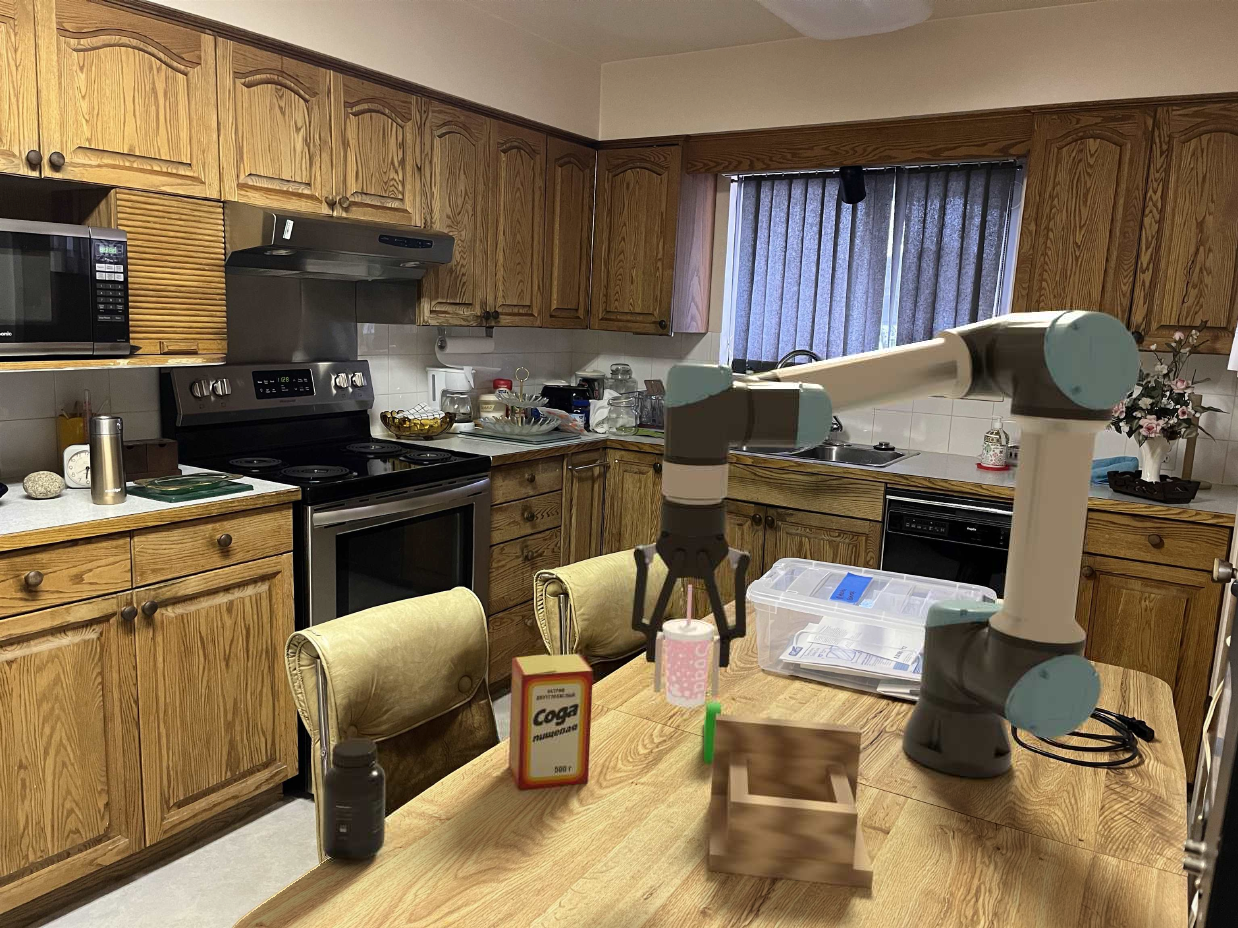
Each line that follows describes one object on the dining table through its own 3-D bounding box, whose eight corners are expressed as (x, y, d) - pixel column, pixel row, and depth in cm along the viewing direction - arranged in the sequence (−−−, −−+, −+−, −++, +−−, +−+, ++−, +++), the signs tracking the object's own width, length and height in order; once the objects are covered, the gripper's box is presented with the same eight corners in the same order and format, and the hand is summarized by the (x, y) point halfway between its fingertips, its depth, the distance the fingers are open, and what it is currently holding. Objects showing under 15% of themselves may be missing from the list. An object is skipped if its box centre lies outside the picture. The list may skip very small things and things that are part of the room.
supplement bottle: (309, 855, 103) (310, 754, 101) (344, 825, 109) (345, 730, 108) (363, 868, 101) (364, 765, 99) (395, 837, 107) (397, 739, 106)
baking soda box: (575, 760, 129) (580, 651, 127) (588, 782, 123) (593, 667, 121) (508, 767, 126) (512, 655, 124) (518, 789, 120) (522, 672, 118)
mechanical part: (746, 767, 130) (750, 713, 129) (703, 764, 130) (707, 710, 129) (742, 732, 142) (745, 682, 141) (703, 729, 142) (706, 679, 141)
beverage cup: (673, 712, 105) (678, 594, 103) (651, 693, 111) (655, 580, 109) (720, 705, 108) (726, 589, 106) (696, 687, 113) (700, 576, 111)
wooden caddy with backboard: (851, 815, 118) (859, 725, 116) (871, 887, 102) (880, 785, 100) (710, 801, 119) (716, 713, 118) (708, 870, 104) (715, 769, 102)
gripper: (775, 496, 109) (765, 684, 112) (616, 489, 111) (610, 673, 114) (779, 508, 101) (768, 708, 104) (608, 499, 103) (602, 696, 106)
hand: (686, 689), depth 109 cm, fingers closed on beverage cup, 6 cm apart
